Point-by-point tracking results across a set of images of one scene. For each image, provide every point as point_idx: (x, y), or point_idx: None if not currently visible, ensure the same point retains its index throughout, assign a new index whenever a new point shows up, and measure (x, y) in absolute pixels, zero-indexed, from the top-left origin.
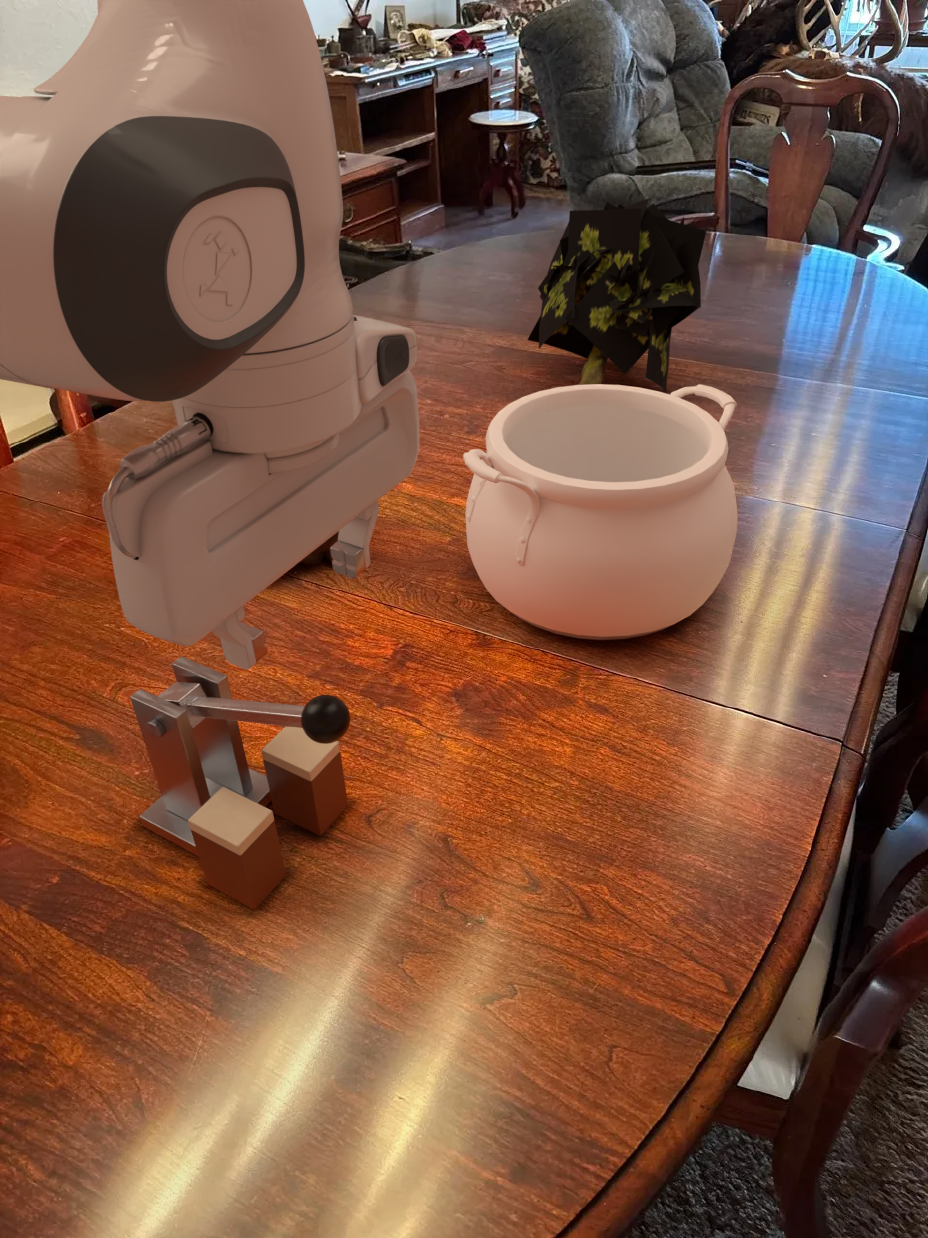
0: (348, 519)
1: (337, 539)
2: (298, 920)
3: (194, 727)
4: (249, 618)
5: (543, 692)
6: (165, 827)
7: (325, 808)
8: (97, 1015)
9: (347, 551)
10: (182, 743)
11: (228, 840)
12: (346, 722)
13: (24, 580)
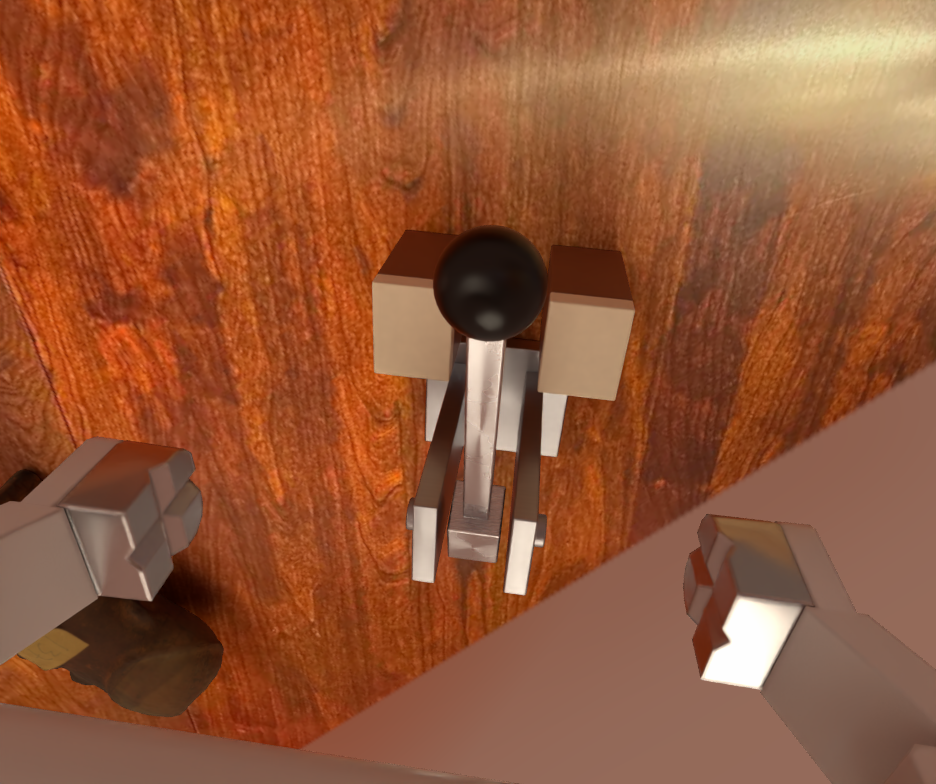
0: (2, 742)
1: (4, 503)
2: (613, 186)
3: (501, 486)
4: (203, 518)
5: (6, 37)
6: (559, 422)
7: None
8: (818, 338)
9: (122, 544)
10: (539, 483)
11: (630, 329)
12: (485, 232)
13: (315, 725)
